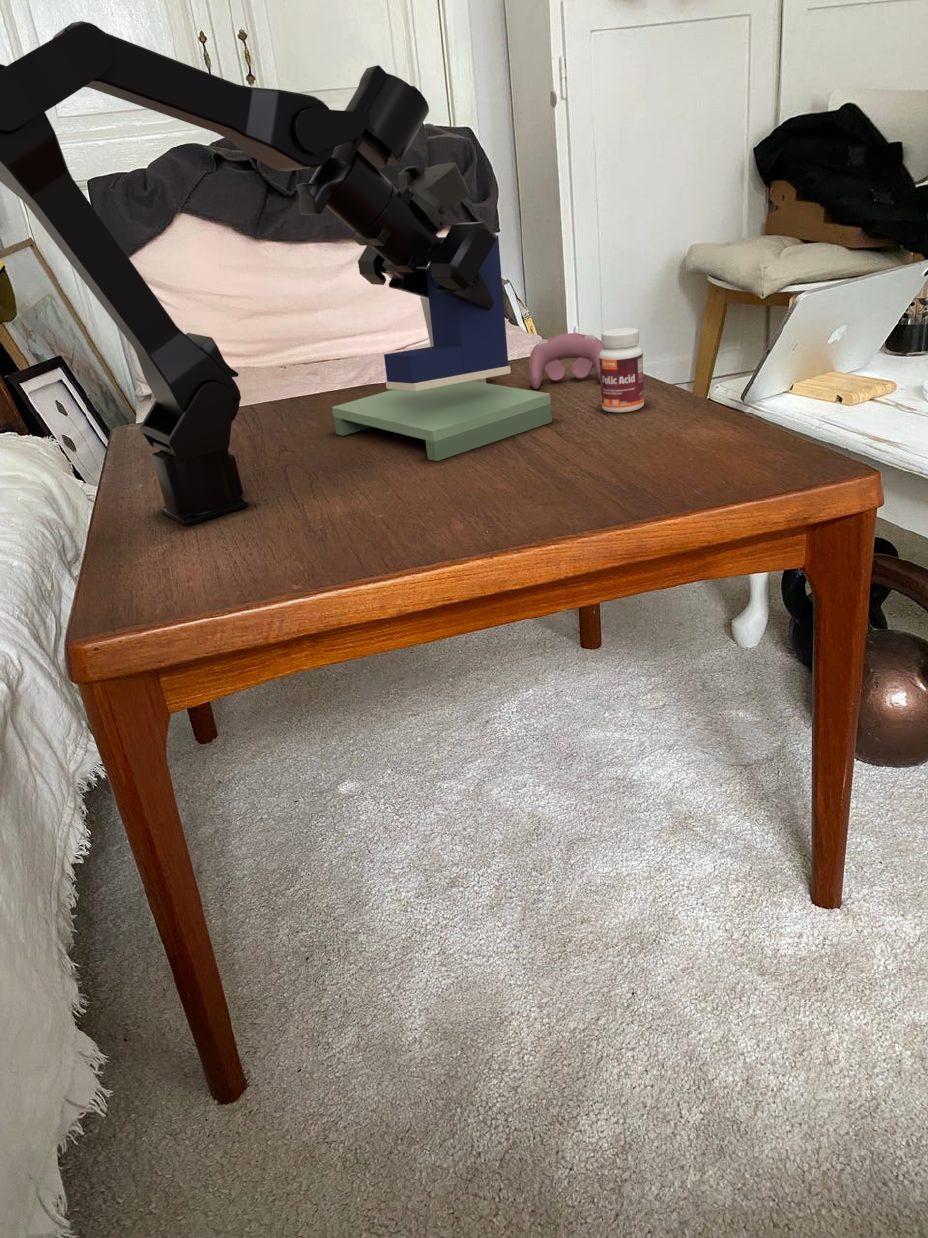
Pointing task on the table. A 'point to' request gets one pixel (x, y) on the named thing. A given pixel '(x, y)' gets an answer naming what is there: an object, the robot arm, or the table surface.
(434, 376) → the boot
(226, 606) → the table surface
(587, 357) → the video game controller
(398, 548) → the table surface
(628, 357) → the pill bottle
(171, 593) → the table surface
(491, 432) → the shoe shelf
